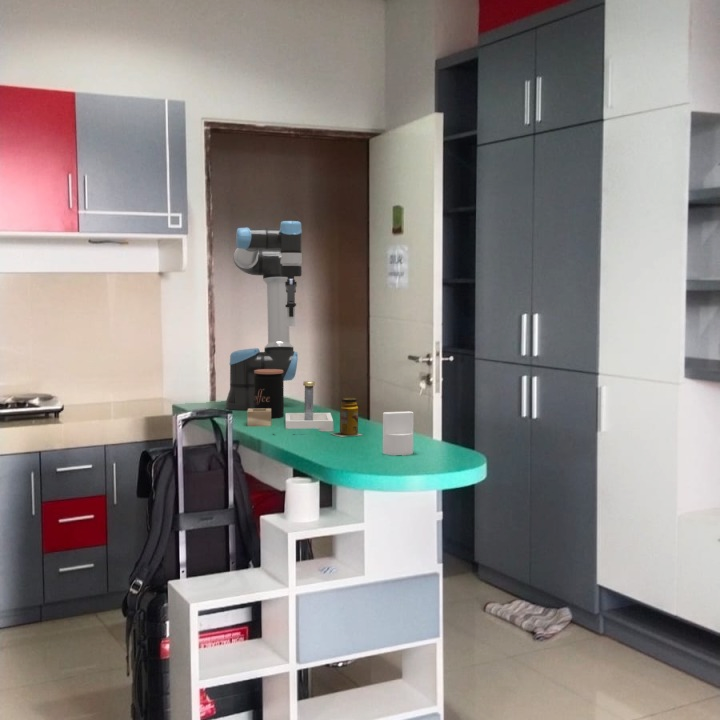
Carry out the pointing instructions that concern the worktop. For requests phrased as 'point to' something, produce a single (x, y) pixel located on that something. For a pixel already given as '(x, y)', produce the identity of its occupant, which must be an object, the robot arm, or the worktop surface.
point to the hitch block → (259, 417)
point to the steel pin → (308, 400)
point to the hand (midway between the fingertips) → (290, 325)
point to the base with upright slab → (398, 433)
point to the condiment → (348, 418)
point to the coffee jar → (269, 391)
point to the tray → (309, 421)
